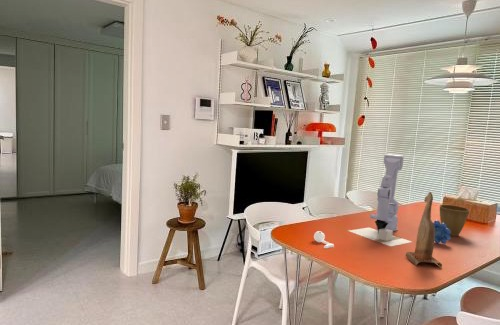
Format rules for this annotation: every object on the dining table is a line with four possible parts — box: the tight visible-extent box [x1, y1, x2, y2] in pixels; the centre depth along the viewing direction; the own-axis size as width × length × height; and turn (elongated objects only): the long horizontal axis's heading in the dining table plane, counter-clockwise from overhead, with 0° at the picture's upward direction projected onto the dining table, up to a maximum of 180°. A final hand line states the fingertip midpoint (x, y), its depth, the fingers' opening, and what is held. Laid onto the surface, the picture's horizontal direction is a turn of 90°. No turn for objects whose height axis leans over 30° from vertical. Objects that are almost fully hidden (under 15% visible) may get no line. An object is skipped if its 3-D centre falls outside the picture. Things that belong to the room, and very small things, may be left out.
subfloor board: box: [348, 227, 412, 247], centre depth 191 cm, size 18×28×1 cm, turn 32°
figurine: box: [313, 230, 335, 249], centre depth 173 cm, size 8×6×12 cm
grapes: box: [432, 219, 452, 245], centre depth 184 cm, size 12×7×12 cm, turn 57°
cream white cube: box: [378, 228, 394, 241], centre depth 186 cm, size 5×5×5 cm
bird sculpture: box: [405, 191, 443, 268], centre depth 154 cm, size 11×12×32 cm
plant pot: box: [439, 204, 470, 237], centre depth 202 cm, size 15×15×16 cm
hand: (380, 234), depth 190 cm, fingers closed
